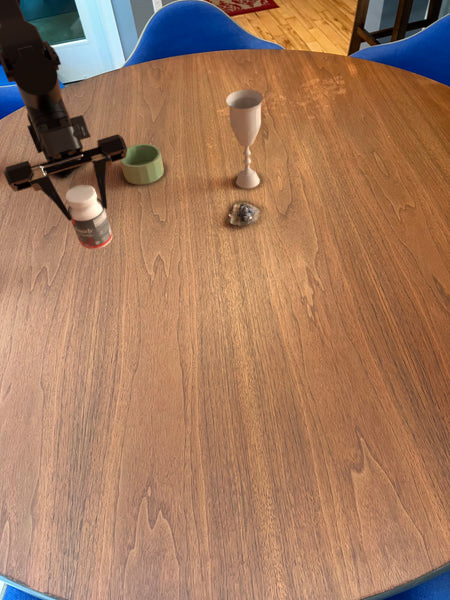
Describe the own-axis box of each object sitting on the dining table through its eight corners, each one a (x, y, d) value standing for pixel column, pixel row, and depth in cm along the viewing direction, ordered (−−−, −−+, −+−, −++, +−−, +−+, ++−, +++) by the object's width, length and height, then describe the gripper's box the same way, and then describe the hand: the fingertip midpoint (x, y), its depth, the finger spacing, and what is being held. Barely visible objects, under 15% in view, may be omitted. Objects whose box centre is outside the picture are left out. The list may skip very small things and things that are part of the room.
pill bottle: (73, 245, 82) (54, 199, 75) (93, 225, 85) (76, 178, 78) (100, 254, 80) (83, 208, 73) (119, 233, 84) (105, 186, 76)
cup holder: (116, 177, 105) (111, 160, 102) (141, 157, 110) (137, 139, 107) (147, 189, 102) (142, 171, 98) (171, 167, 106) (168, 149, 103)
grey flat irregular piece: (230, 231, 91) (229, 223, 90) (222, 206, 96) (221, 198, 95) (264, 225, 92) (264, 217, 90) (255, 200, 97) (254, 192, 96)
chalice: (261, 192, 98) (260, 109, 85) (228, 190, 100) (222, 108, 86) (266, 172, 103) (266, 90, 89) (235, 170, 104) (230, 88, 91)
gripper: (-23, 118, 65) (22, 227, 67) (108, 83, 69) (147, 187, 71) (-6, 142, 76) (32, 235, 78) (107, 110, 80) (141, 199, 82)
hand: (88, 214), depth 77 cm, fingers closed on pill bottle, 6 cm apart
